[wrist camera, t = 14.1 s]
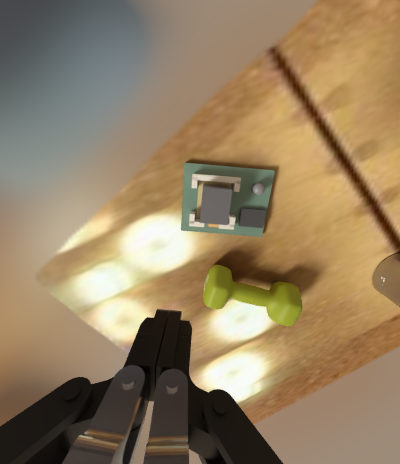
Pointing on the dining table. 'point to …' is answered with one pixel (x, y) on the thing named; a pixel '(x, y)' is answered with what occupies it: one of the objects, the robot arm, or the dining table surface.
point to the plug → (215, 205)
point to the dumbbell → (253, 295)
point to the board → (242, 202)
